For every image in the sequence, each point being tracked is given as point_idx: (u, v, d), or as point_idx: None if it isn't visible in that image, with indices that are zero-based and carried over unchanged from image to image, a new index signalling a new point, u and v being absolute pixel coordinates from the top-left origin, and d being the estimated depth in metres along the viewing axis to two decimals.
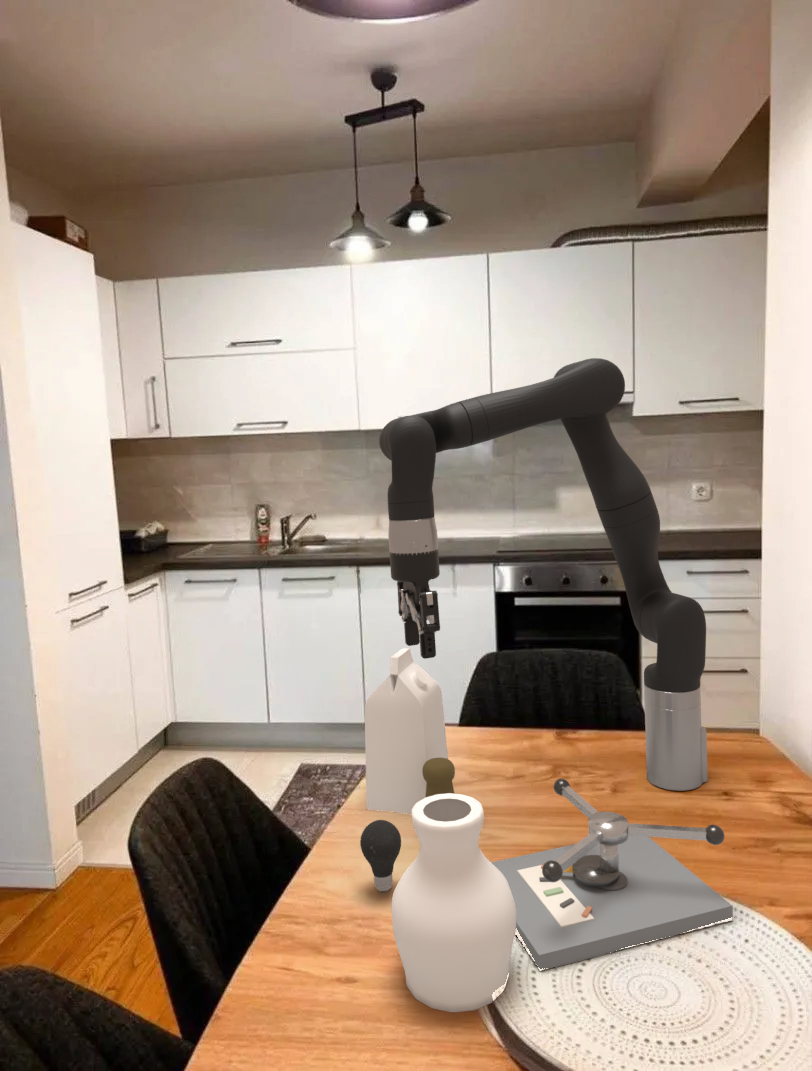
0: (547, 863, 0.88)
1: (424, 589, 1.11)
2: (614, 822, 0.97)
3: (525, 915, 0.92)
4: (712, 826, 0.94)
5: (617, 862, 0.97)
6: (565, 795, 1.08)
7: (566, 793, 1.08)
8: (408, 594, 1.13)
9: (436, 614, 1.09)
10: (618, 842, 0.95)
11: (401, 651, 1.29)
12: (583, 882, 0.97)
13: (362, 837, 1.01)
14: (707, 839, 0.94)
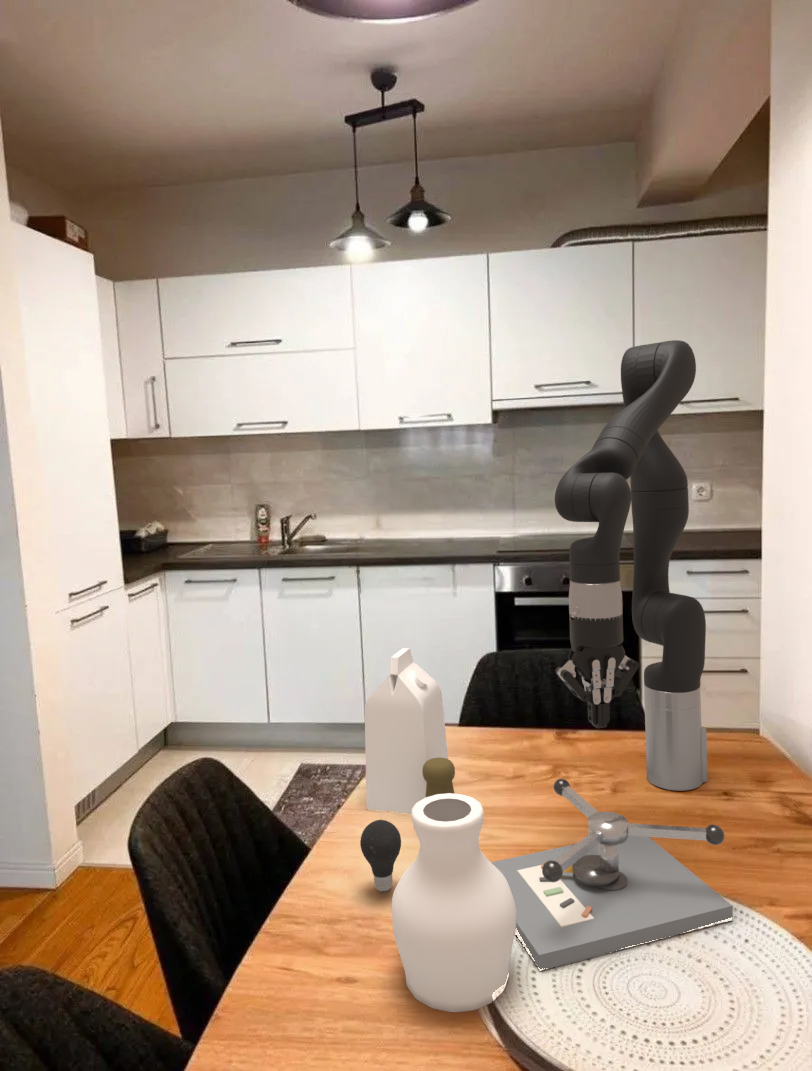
0: (547, 863, 0.88)
1: None
2: (614, 822, 0.97)
3: (525, 915, 0.92)
4: (712, 826, 0.94)
5: (617, 862, 0.97)
6: (565, 795, 1.08)
7: (566, 793, 1.08)
8: (614, 660, 1.08)
9: None
10: (618, 842, 0.95)
11: (401, 651, 1.29)
12: (583, 882, 0.97)
13: (362, 837, 1.01)
14: (707, 839, 0.94)
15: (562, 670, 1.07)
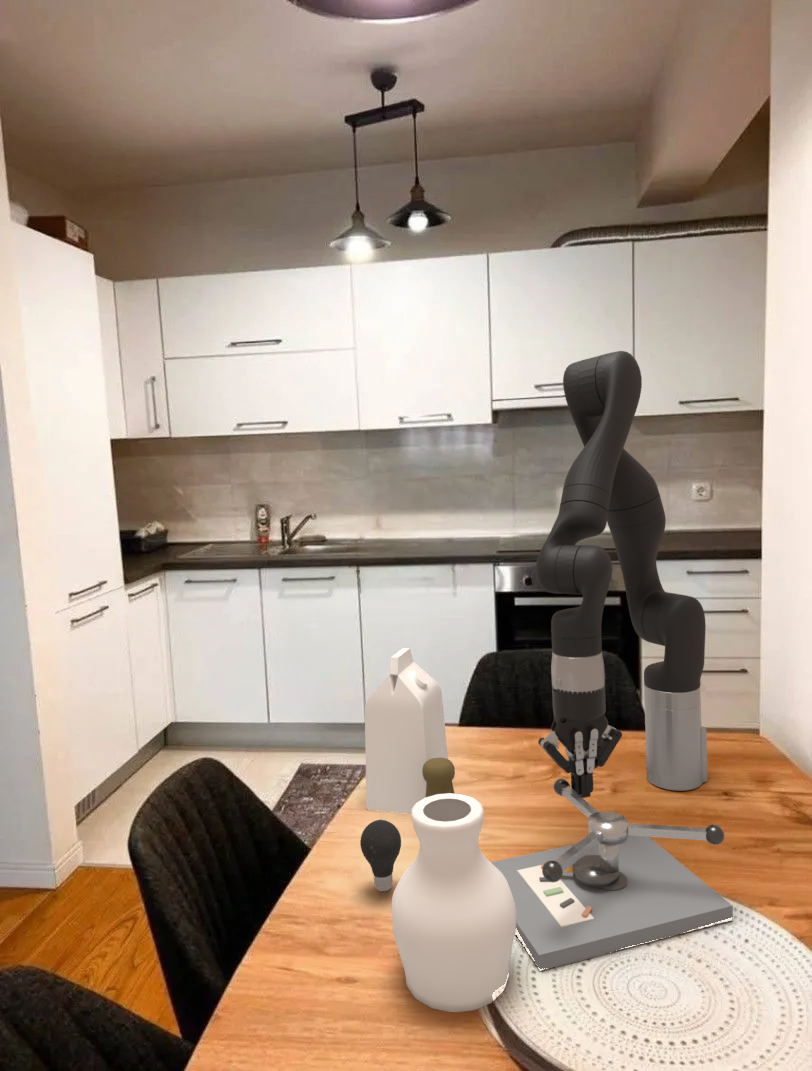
0: (547, 863, 0.88)
1: None
2: (614, 822, 0.97)
3: (525, 915, 0.92)
4: (712, 826, 0.94)
5: (617, 862, 0.97)
6: (565, 795, 1.08)
7: (566, 793, 1.08)
8: None
9: None
10: (618, 842, 0.95)
11: (401, 651, 1.29)
12: (583, 882, 0.97)
13: (362, 837, 1.01)
14: (707, 839, 0.94)
15: (545, 742, 1.07)
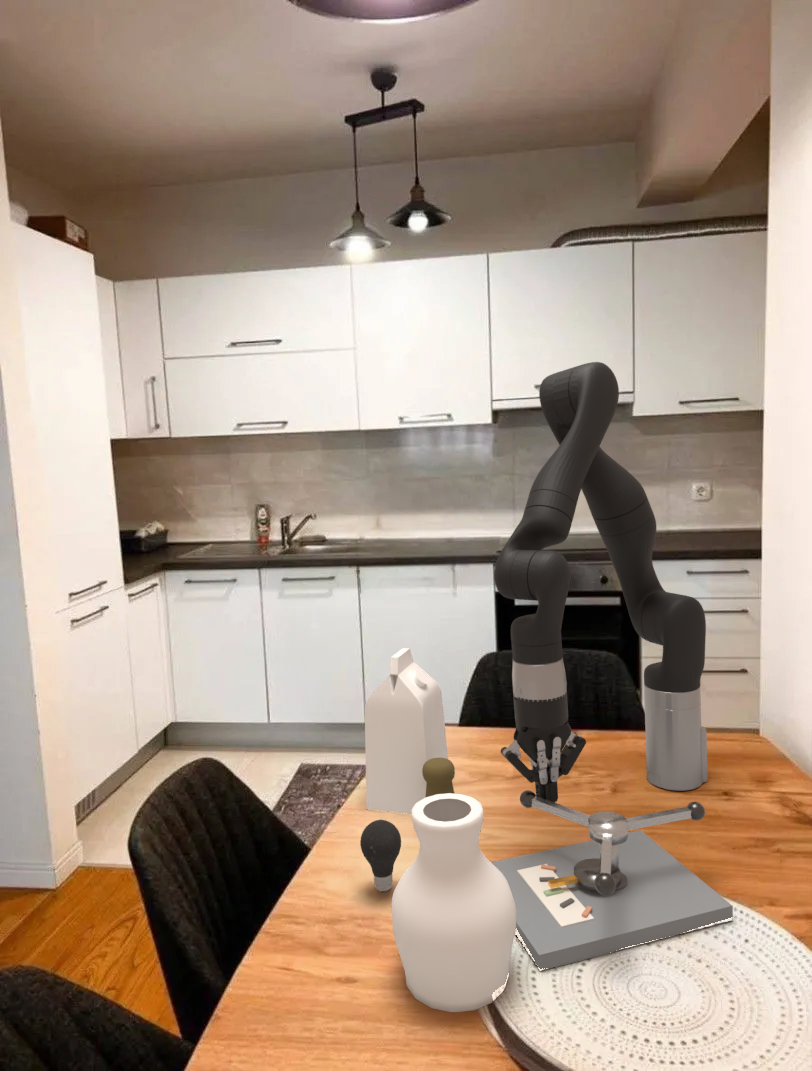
0: (601, 877, 0.85)
1: None
2: (615, 820, 0.97)
3: (525, 915, 0.92)
4: (694, 803, 1.00)
5: (618, 860, 0.98)
6: (538, 806, 1.05)
7: (540, 804, 1.05)
8: None
9: None
10: (625, 839, 0.96)
11: (401, 651, 1.29)
12: (596, 889, 0.95)
13: (362, 837, 1.01)
14: (692, 816, 1.00)
15: (507, 751, 1.05)
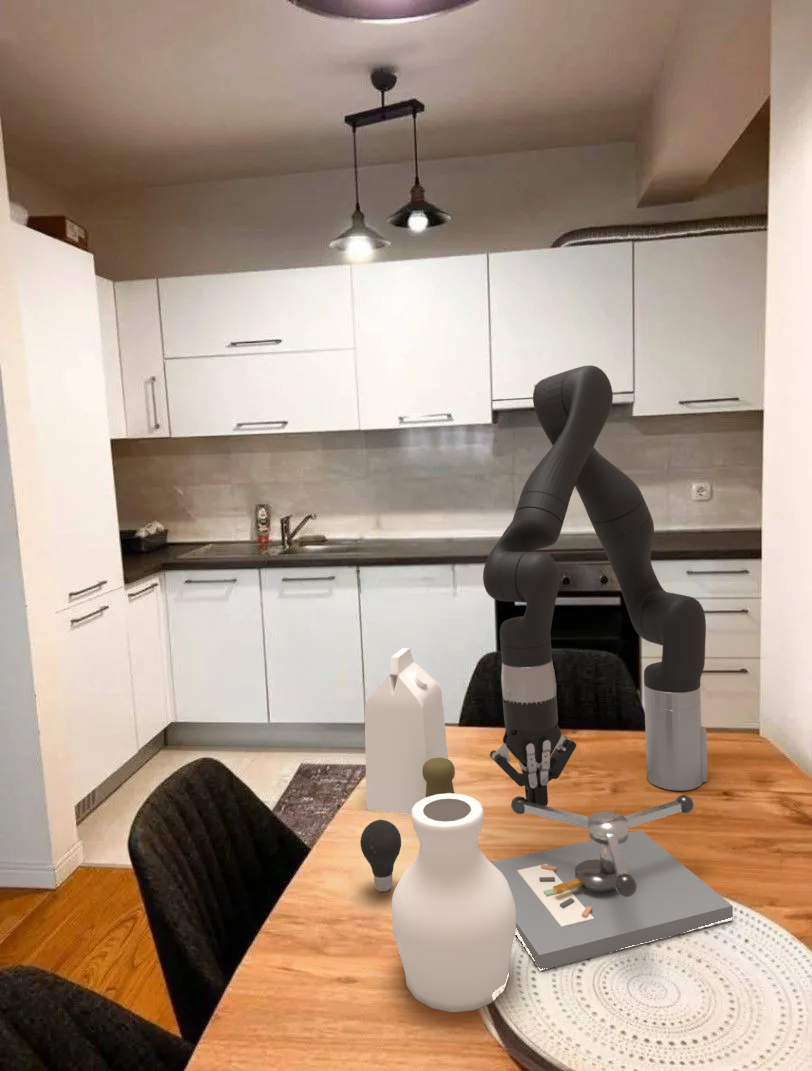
0: (622, 878, 0.84)
1: None
2: (614, 820, 0.98)
3: (525, 915, 0.92)
4: (683, 796, 1.02)
5: None
6: (531, 811, 1.04)
7: (533, 809, 1.04)
8: (549, 742, 1.05)
9: None
10: (626, 838, 0.96)
11: (401, 651, 1.29)
12: (601, 890, 0.95)
13: (362, 837, 1.01)
14: (683, 809, 1.02)
15: (496, 755, 1.04)
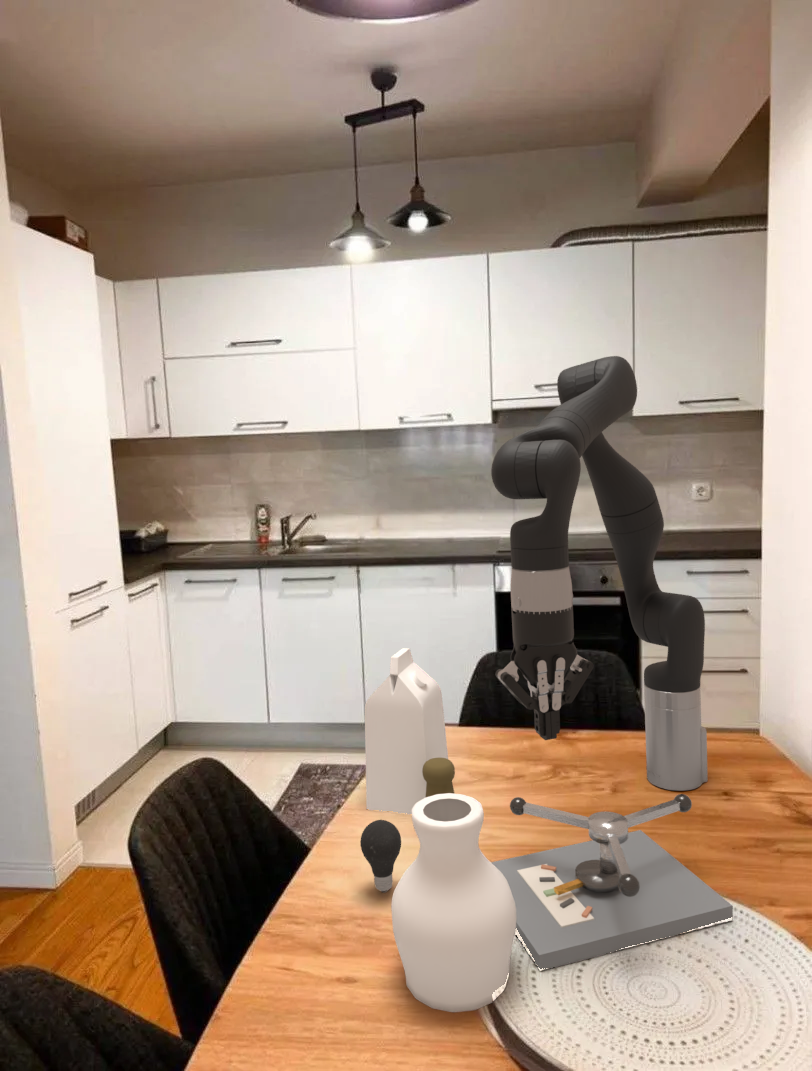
0: (626, 878, 0.84)
1: None
2: (614, 820, 0.98)
3: (525, 915, 0.92)
4: (681, 795, 1.03)
5: None
6: (530, 812, 1.04)
7: (533, 810, 1.03)
8: None
9: None
10: (627, 837, 0.96)
11: (401, 651, 1.29)
12: (602, 890, 0.95)
13: (362, 837, 1.01)
14: (681, 808, 1.02)
15: (502, 673, 0.91)
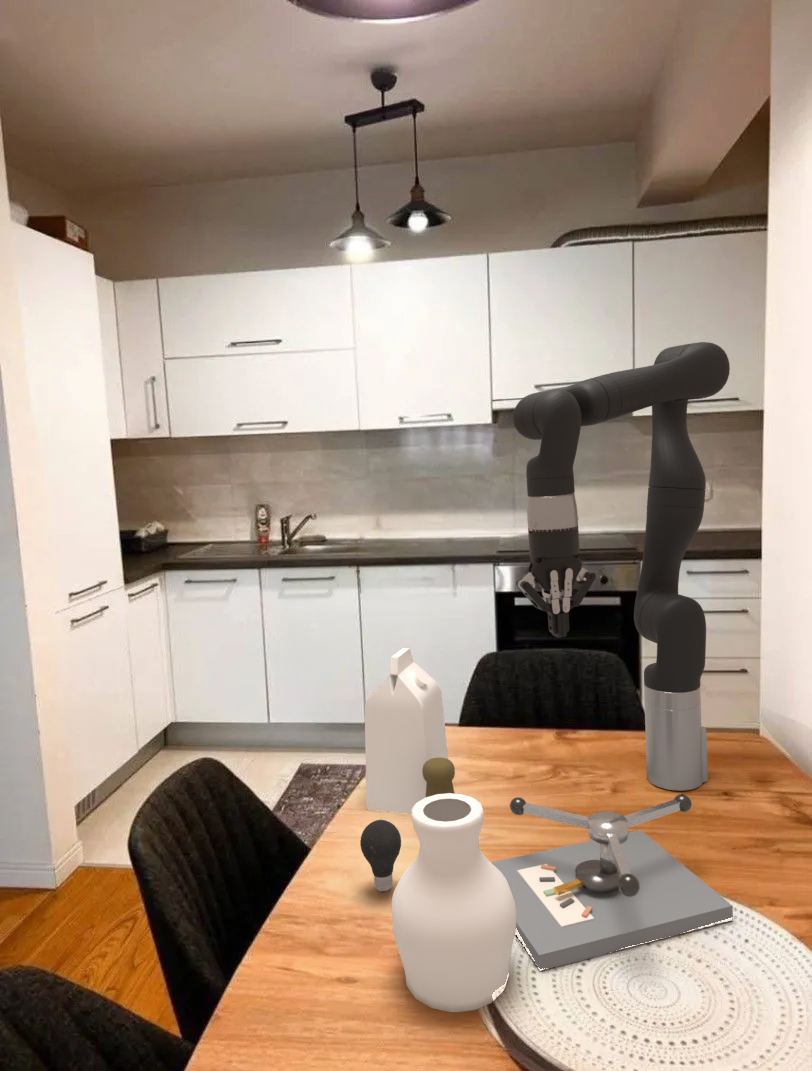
0: (626, 878, 0.84)
1: None
2: (614, 820, 0.98)
3: (525, 915, 0.92)
4: (681, 795, 1.03)
5: None
6: (530, 812, 1.04)
7: (533, 810, 1.03)
8: None
9: None
10: (627, 837, 0.96)
11: (401, 651, 1.29)
12: (602, 890, 0.95)
13: (362, 837, 1.01)
14: (681, 808, 1.02)
15: (522, 581, 1.12)
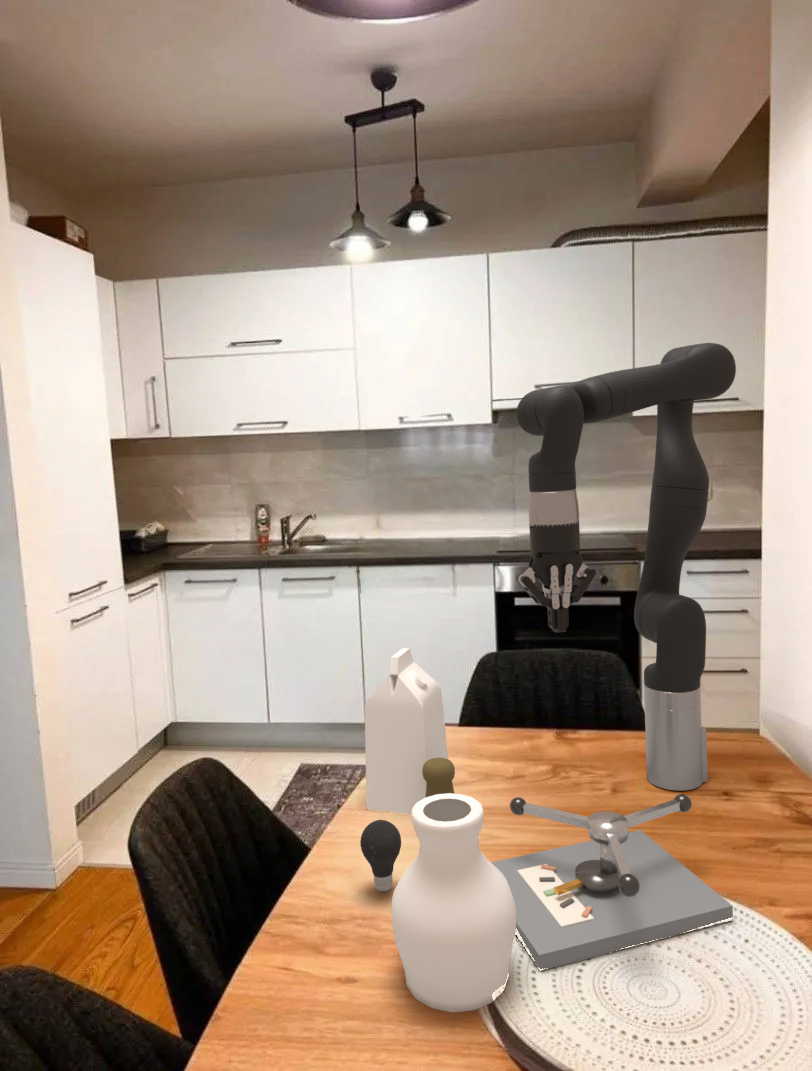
0: (626, 878, 0.84)
1: None
2: (614, 820, 0.98)
3: (525, 915, 0.92)
4: (681, 795, 1.03)
5: None
6: (530, 812, 1.04)
7: (533, 810, 1.03)
8: None
9: None
10: (627, 837, 0.96)
11: (401, 651, 1.29)
12: (602, 890, 0.95)
13: (362, 837, 1.01)
14: (681, 808, 1.02)
15: (522, 576, 1.13)
